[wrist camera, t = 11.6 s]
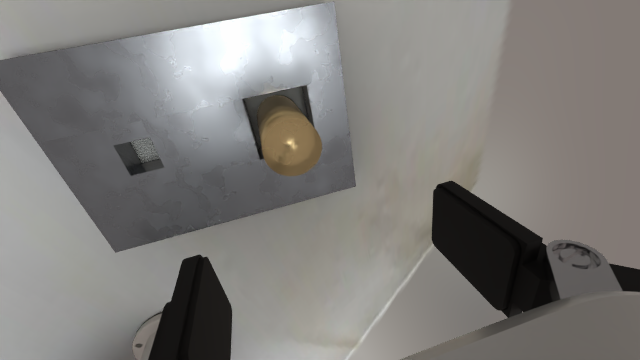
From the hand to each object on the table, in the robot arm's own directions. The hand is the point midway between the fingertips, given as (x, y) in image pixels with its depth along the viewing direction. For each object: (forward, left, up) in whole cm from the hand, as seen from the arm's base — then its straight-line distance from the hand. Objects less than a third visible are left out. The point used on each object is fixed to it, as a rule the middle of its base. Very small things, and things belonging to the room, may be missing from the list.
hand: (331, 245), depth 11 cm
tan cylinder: (0, 0, -21) cm, 21 cm away
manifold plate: (0, +6, -21) cm, 21 cm away
